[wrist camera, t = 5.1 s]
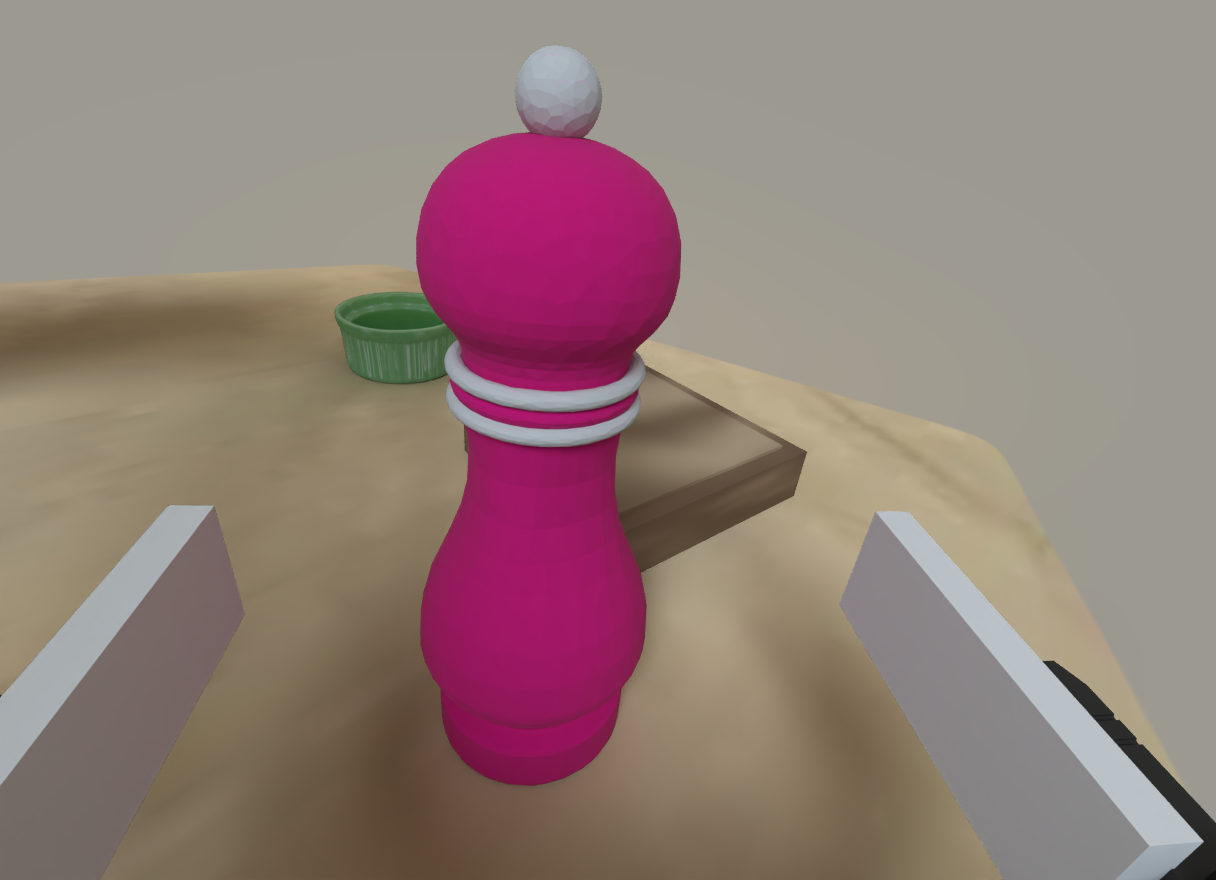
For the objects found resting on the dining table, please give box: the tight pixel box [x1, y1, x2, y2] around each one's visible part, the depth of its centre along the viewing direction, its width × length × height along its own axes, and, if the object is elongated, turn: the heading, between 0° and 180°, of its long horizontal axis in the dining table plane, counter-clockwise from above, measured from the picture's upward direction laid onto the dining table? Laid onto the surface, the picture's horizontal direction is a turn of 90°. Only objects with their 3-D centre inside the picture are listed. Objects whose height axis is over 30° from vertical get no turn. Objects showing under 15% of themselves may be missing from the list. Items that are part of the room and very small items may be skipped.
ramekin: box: [335, 292, 458, 384], centre depth 45 cm, size 9×9×4 cm
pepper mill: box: [416, 46, 681, 786], centre depth 17 cm, size 7×7×20 cm
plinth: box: [464, 365, 807, 572], centre depth 35 cm, size 14×14×3 cm
